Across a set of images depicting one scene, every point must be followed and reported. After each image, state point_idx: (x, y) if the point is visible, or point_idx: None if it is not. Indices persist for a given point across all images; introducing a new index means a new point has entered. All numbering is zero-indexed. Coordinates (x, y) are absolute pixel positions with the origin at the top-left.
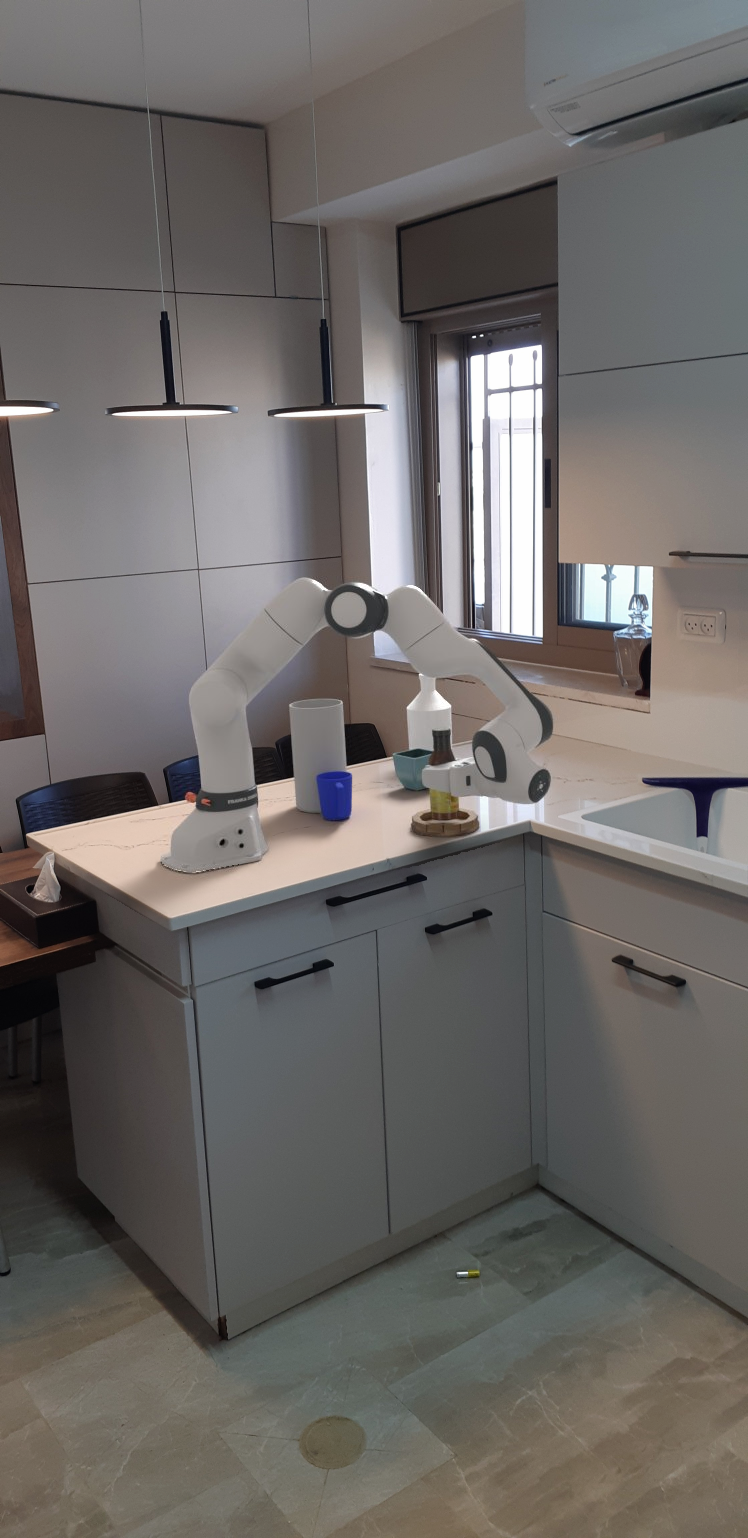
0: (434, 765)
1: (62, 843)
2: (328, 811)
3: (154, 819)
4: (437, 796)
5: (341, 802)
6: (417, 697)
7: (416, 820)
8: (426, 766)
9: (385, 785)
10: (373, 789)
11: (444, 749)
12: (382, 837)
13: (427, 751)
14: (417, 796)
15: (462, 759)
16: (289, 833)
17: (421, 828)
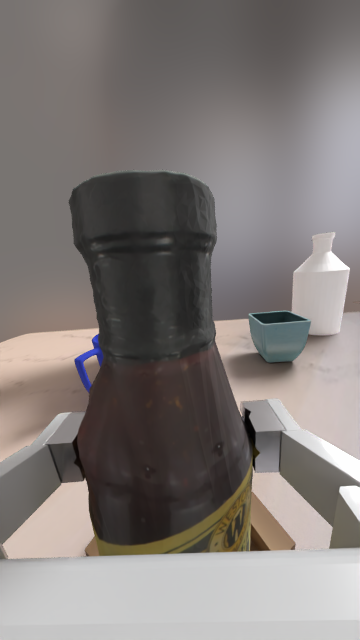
0: (65, 443)
1: (4, 343)
2: None
3: (72, 336)
4: None
5: (82, 381)
6: (306, 260)
7: (96, 543)
8: (54, 421)
9: (245, 343)
10: (228, 346)
11: (120, 361)
12: (21, 530)
13: (295, 316)
14: (259, 375)
15: (237, 633)
16: (42, 397)
17: None
